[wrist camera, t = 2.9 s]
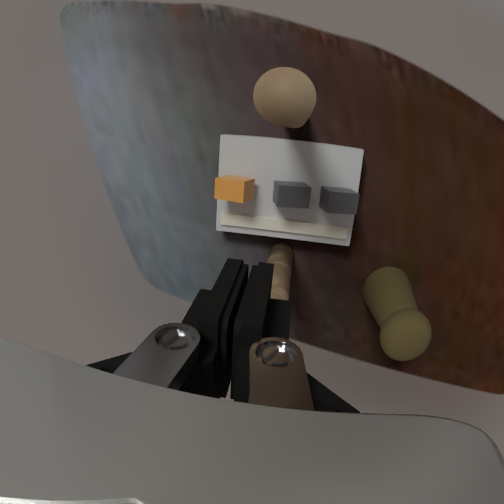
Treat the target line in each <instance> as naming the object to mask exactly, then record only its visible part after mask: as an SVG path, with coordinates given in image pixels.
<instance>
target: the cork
mask: <svg viewBox="0 0 504 504" xmlns="http://www.w3.org/2000/svg"><path fill="white" fill-rule="evenodd" d="M362 294H363V299H364V301H365V303H366V305H367V306H368V308H369V310H370V312H371V313H372V315H373V317H374V318H375V320H376V322H377V324H378V325H379V327H380V329H381V330H380V344H381V347H382V349H383V351H384V352H385V354H386V355H387V356H389V357H390V358H392V359H394V360H397V361H408V360H412V359H414V358H416V357H418V356H419V355H421V354H422V353H423V352H424V351H425V350H426V348H427V347H428V345H429V342H430V340H431V326H430V323H429V321H428V319H427V318H426V317H425V316H424V315H423V314H422V313H421V312H420V311H418V308H417V305H416V301H415V298H414V295H413V291H412V288H411V285H410V282H409V279H408V277H407V275H406V274H405V273H404V272H403V271H402V270H400V269H398V268H396V267H383V268H380V269H378V270H376V271H374V272H373V273H372V274H371V275H370V276H369V277H368V278H367V279H366V281H365V283H364V285H363V290H362Z"/></svg>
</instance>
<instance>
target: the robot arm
mask: <svg viewBox="0 0 504 504" xmlns="http://www.w3.org/2000/svg"><path fill="white" fill-rule="evenodd" d="M273 270H274V264H272V263H264V262H259V264H258V266H256V265H253V266H252V269H251V272H250V275H249V278H248V265H247V264H243V260H239V259H230V258H228V259H227V261H226V263H225V265H224V267H223V269H222V271H221V273H220V275H219V277H218V279H217V281H216V283H215V285H214V287H213V288H212V290H205V289H201V290H200V291H199V293H198V294H197V296H196V298H195V300H194V301H193V303H192V305H191V307H190V309H189V310H188V312H187V314H186V316H185V317H184V319H183V321H182V323H168V324H164V325H161V326H159V327H157V328H156V329H155V330H153V331H152V332H151V333H150V334H149V335H148V337H147V338H146V339H145V340H144V341H143V342H142V343H141V344H140V345H139V346H138V347H137V348H136V349H135V350H134V351H133V352H130V353H127V354H124V355H120V356H117V357H113V358H110V359H106V360H103V361H99V362H96V363H92V364H89V365H86V366H85V365H82V364H79V363H76V362H73V361H70V360H68V359H65V358H62V357H59V356H56V355H53V354H50V353H48V352H45V351H42V350H39V349H37V348H33V347H31V346H28V345H25V344H23V343H20V342H16V341H13V340H9V339H6V338H0V504H504V459H503V457H502V455H501V453H500V451H499V449H498V447H497V446H496V444H495V443H494V442H493V440H492V439H491V438H490V437H489V436H488V435H487V434H486V433H485V432H484V431H482V430H481V429H479V428H477V427H475V426H472V425H470V424H467V423H464V422H460V421H456V420H453V419H449V418H442V417H435V416H427V415H413V414H373V413H360V412H359V411H358V410H356V409H355V408H354V407H352V406H351V405H350V404H348V403H347V402H346V401H344V400H343V399H341V398H340V397H339V396H337V395H336V394H335V393H333V392H332V391H331V390H329V389H328V388H327V387H325V386H324V385H323V384H321V383H320V382H319V381H317V380H316V379H315V378H313V377H312V376H311V375H310V374H308V373H307V372H306V368H305V363H304V358H303V354H302V351H301V349H300V348H299V347H298V346H297V345H296V344H295V343H293V342H291V341H290V340H289V327H290V311H291V301H290V300H281V299H273V298H271V289H272V279H273ZM230 381H231V395H230V397H231V399H234V401H230V400H224V399H220V397H223V398H226V395H227V392H228V388H229V385H230Z"/></svg>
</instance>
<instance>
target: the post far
mask: <svg viewBox="0 0 504 504" xmlns="http://www.w3.org/2000/svg"><path fill="white" fill-rule="evenodd" d="M292 259H293V250H292V248H291V247H290V246H289V245H288V244H287V243H284V242H278V243H276V244H274V245H273V246H272V247H271V249H270V252H269V256H268V260H267V263H272V264H274V270H273V279H272V289H271V298H273V299H281V300H289V291H290V281H291V270H292Z"/></svg>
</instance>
